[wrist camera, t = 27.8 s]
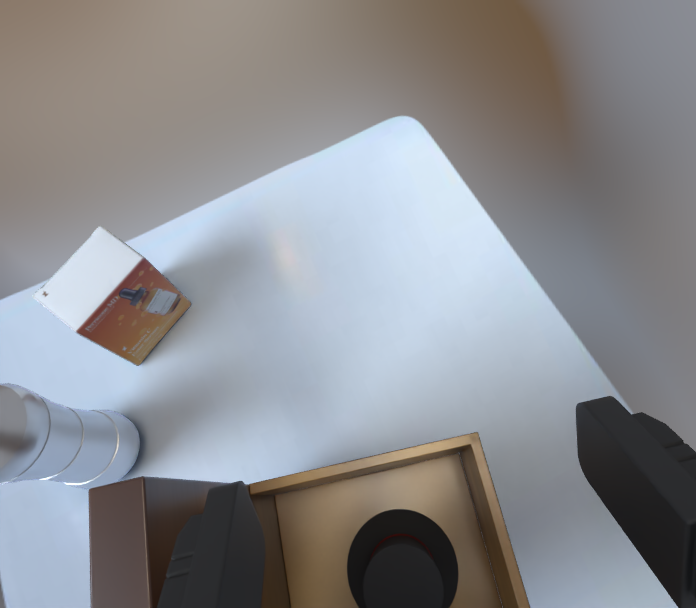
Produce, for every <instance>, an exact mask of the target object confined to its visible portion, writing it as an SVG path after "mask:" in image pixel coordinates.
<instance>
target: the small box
mask: <svg viewBox="0 0 696 608" xmlns="http://www.w3.org/2000/svg"><path fill="white" fill-rule="evenodd" d="M32 297H33V298H34V299H35V300H36V301H37V302H39V303H40V304H41V305H42V306H44V307H45V308H46V309H47V310H49V311H50V312H51V313H52V314H53V315H55V316H56V317H57V318H58V319H60V320H61V321H62V322H63V323H64V324H66V325H67V326H68V327H69V328H71V329H72V330H73V331H74V332H75V333H77V334H79V335H80V336H82V337H84V338H86V339H88V340H90V341H91V342H93V343H95V344H97V345H99V346H101V347H103V348H105V349H106V350H108V351H110V352H112V353H114V354H116V355H118V356H119V357H121V358H123V359H125V360H127V361H129V362H131V363H132V364H134V365H136V366H139V365H140V364H141V363H142V361H143V360H144V359H145V358H146V356H147V355H148V354H149V353H150V351H151V350H152V349H153V348H154V347H155V346H156V344H157V343H158V342H159V341H160V340H161V339H162V338H163V336H164V335H165V334H166V333H167V332H168V331H169V329H170V328H171V327H172V326H173V325H174V324H175V323H176V322H177V320H178V319H179V318H180V317H181V316H182V315H183V313H184V312H185V311H186V310H187V309H188V308H189V307H190V306H191V302H190V301H189V300H188V299H187V298H186V297H185V296H184V295H183V294H182V293H181V292H180V291H179V290H178V289H177V288H176V287H175V286H174V285H173V284H172V283H171V282H170V281H169V280H168V279H167V278H166V277H164V276H163V275H162V274H161V273H160V272H159V271H158V270H157V269H156V268H155V267H154V266H153V265H152V264H151V263H150V262H149V261H148V260H147V259H146V258H144V257H143V256H142V255H140V254H139V253H138V252H136V251H135V250H134V249H132V248H131V247H130V246H128V245H127V244H126V243H124V242H123V241H121V240H120V239H119V238H117V237H116V236H115V235H113V234H112V233H111V232H109V231H108V230H106V229H105V228H104V227H102V226H99V227H98V228H97V229H96V230H95V231H94V232H93V234H92V235H91V236H90V237H89V238H88V240H87V241H86V242H85V243H84V244H83V245H82V246H81V247H80V248H79V249H78V250H77V251H76V252H75V253H74V254H73V255H72V256H71V257H70V259H69V260H68V261H67V262H66V263H65V264H64V265H63V266H62V267H61V268H60V269H59V270H58V271H57V272H56V273H55V274H54V275H53V276H52V277H51V278H50V279H49V280H48V281H47V282H46V283H45V284H44V285H43V286H42V287H41V288H40V289H39V290H38V291H37V292H36V293H35V294H33V296H32Z"/></svg>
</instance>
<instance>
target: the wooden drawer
mask: <svg viewBox="0 0 696 608" xmlns="http://www.w3.org/2000/svg"><path fill="white" fill-rule="evenodd" d="M456 453H457V454H456ZM459 454H460V455H459ZM443 456H444V457H443ZM460 457H461V458H460ZM434 458H435V459H434ZM430 459H431V460H430ZM421 461H422V462H421ZM461 461H462V462H461ZM408 464H409V465H408ZM462 464H463V465H462ZM399 466H400V467H399ZM463 468H464V469H463ZM386 469H387V470H386ZM377 471H378V472H377ZM464 471H465V472H464ZM373 472H374V473H373ZM364 474H365V475H364ZM465 475H466V476H465ZM351 477H352V478H351ZM466 478H467V479H466ZM342 479H343V480H342ZM329 482H330V483H329ZM467 482H468V483H467ZM225 484H229V483H222V482H209V481H196V480H183V479H171V478H158V477H145V476H142V477H137V478H133V479H129V480H124V481H120V482H116V483H111V484H107V485H102V486H98V487H94V488H91V489H89V536H90V588H91V608H157V605H158V602H159V598H160V595H161V591H162V588H163V584H164V581H165V579H166V578H167V576H166V573H167V570H168V566H169V563H170V561H171V560H172V559H171V556H172V552H173V549H174V545H175V542H176V538H177V535H178V534H179V533H180V531H181V530H182V528H183V527H184V525H185V524H186V522H187V521H188V519H189V518H190V516H192V515H197V514H201V513H203V511H204V507H205V503H206V498H207V494H208V491H209V489H210V488H212V487H216V486H221V485H225ZM320 484H321V485H320ZM316 485H317V486H316ZM468 485H469V486H468ZM245 486H246V488H247V490H248V493H249V495H250V498H251V500H252V503H253V505H254V508H255V510H256V513H257V515H258V518H259V520H260V523H261V525H262V528H263V532H264V537H265V546H266V556H265V568H264V580H263V592H262V605H261V608H359V607H358V605H357V604H356V602H355V600H354V598H353V596H352V593H351V590H350V587H349V583H348V577H347V560H348V554H349V549H350V547H351V544H352V541H353V539H354V537H355V535H356V534H357V532H358V531H359V530H360V528H361V527H362V526H363V525H364V524H365V523H366V522H367V521H368V520H370V519H371V518H372V517H374V516H375V515H377V514H379V513H382V512H384V511H388V510H393V509H407V510H412V511H416V512H418V513H421V514H423V515H425V516H427V517H428V518H430V519H431V520H432V521H434V522H435V523H436V524H437V525H438V526H439V527H440V528H441V529H442V530H443V531H444V533H445V534H446V535H447V537H448V539H449V540H450V542H451V544H452V546H453V548H454V551H455V554H456V558H457V563H458V585H457V590H456V594H455V597H454V599H453V602H452V604H451V606H450V607H449V608H530V605H529V602H528V598H527V595H526V592H525V588H524V585H523V582H522V578H521V575H520V572H519V568H518V565H517V562H516V558H515V555H514V552H513V548H512V545H511V542H510V538H509V535H508V532H507V528H506V525H505V522H504V518H503V515H502V512H501V508H500V505H499V502H498V498H497V495H496V492H495V488H494V485H493V482H492V478H491V475H490V472H489V468H488V465H487V462H486V458H485V455H484V452H483V448H482V445H481V442H480V438H479V435H478V432H475V433H471V434H466V435H462V436H457V437H453V438H449V439H444V440H440V441H436V442H431V443H427V444H422V445H418V446H414V447H409V448H405V449H401V450H396V451H392V452H387V453H383V454H379V455H374V456H370V457H366V458H361V459H357V460H352V461H348V462H344V463H339V464H335V465H331V466H326V467H322V468H317V469H313V470H309V471H304V472H300V473H296V474H291V475H287V476H282V477H278V478H274V479H269V480H265V481H261V482H256V483H252V484H249V485H248V484H245ZM307 487H308V488H307ZM469 489H470V490H469ZM470 493H471V494H470ZM471 496H472V497H471ZM472 500H473V501H472ZM473 503H474V504H473ZM474 507H475V508H474ZM475 510H476V511H475ZM476 514H477V515H476ZM477 517H478V518H477ZM478 521H479V522H478ZM479 524H480V525H479ZM480 528H481V529H480ZM481 532H482V533H481ZM482 535H483V536H482ZM483 539H484V540H483ZM484 542H485V543H484ZM485 546H486V547H485ZM486 549H487V550H486ZM487 553H488V554H487ZM488 556H489V557H488ZM489 560H490V561H489ZM490 563H491V565H490ZM491 567H492V568H491ZM492 571H493V572H492ZM493 574H494V575H493ZM494 578H495V579H494ZM495 581H496V582H495ZM496 585H497V586H496ZM497 588H498V589H497ZM498 592H499V593H498ZM499 595H500V596H499ZM500 599H501V600H500ZM501 602H502V604H501ZM502 606H503V607H502Z"/></svg>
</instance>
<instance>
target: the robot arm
mask: <svg viewBox="0 0 696 608" xmlns="http://www.w3.org/2000/svg"><path fill="white" fill-rule="evenodd" d="M576 425H577V446H578V458H579V462H580V465H581V468H582V471H583V473H584V475H585V477H586V479H587V480H588V482H589V483H590V485H591V486H592V488H593V489H594V490H595V492H596V493H597V495H598V496H599V497H600V499H601V500H602V502H603V503H604V504H605V506H606V507H607V508H608V510H609V511H610V513H611V514H612V515H613V517H614V518H615V520H616V521H617V522H618V524H619V525H620V527H621V528H622V529H623V531H624V532H625V534H626V535H627V536H628V538H629V539H630V541H631V542H632V543H633V545H634V546H635V548H636V549H637V550H638V552H639V553H640V555H641V556H642V557H643V559H644V560H645V562H646V563H647V564H648V566H649V567H650V569H651V570H652V571H653V573H654V574H655V576H656V577H657V578H658V580H659V581H660V582H661V584H662V585H663V587H664V588H665V589H666V591H667V592H668V594H669V595H670V596H671V598H672V599H673V601H674V602H675V603H676V605H677V606H678V608H696V452H695V451H694V450H693V449H692V448H691V447H690V446H689V445H688V444H684V442H683V440H682V439H681V438H680V437H679V436H678V435H677V434H676V433H675V432H674V431H672V429H670V428H669V427H668V426H667V425H666V424H665V423H663V422H660V421H658V420H656V419H654V418H652V417H650V416H648V415H646V414H644V413H642V412H641V413H637V414H632V415H631V414H630V413H629V412H628V411H627V410H626V409H625V408H624V407H623V406H622V405H621V404H620V403H619V402H618V401H617V400H616V399H615V398H614V397H612V396H607V397H603V398H599V399H594V400H590V401H586V402H582V403H578V404H577V406H576ZM265 556H266V546H265V537H264V532H263V528H262V525H261V523H260V520H259V518H258V515H257V513H256V510H255V508H254V505H253V503H252V500H251V498H250V495H249V493H248V490H247V488H246V486H245V484H244V483H243V482H242V481H238V482H234V483H229V484H225V485H221V486H216V487H212V488H210V489H209V491H208V494H207V498H206V503H205V507H204V511H203V513H201V514H197V515H192V516H190V518H189V519H188V521H187V522H186V524H185V525H184V527H183V528H182V530H181V531H180V533H179V534H178V535H177V538H176V542H175V545H174V549H173V552H172V556H171V559H172V560H171V561H170V563H169V566H168V570H167V573H166V576H167V578H166V579H165V581H164V584H163V588H162V591H161V595H160V598H159V602H158V605H157V608H261V605H262V592H263V580H264V568H265Z"/></svg>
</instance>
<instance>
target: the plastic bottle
mask: <svg viewBox="0 0 696 608" xmlns="http://www.w3.org/2000/svg"><path fill="white" fill-rule="evenodd" d="M139 448H140V438H139V433H138V431H137V429H136V427H135V425H134V424H133V423H132V422H131V421H130V420H129V419H127V418H126V417H124V416H123V415H121V414H119V413H117V412H115V411H110V410H88V411H87V410H79V409H71V408H68V407H65V406H63V405H60V404H57V403H54V402H51V401H50V400H48V399H46V398H44V397H42V396H40V395H38V394H36V393H34V392H33V391H30V390H28V389H26V388H23V387H21V386H18V385H14V384H0V484H5V483H11V482H17V481H23V480H52V481H58V482H64V483H66V484H68V485H70V486H74V487H78V488H82V489H91V488H94V487H98V486H102V485H107V484H111V483H115V482H117V481H118V480H120V479H121V478H123V477H124V476H125V475H126V474H127V473H128V472H129V470H130V469H131V468H132V467H133V465H134V463H135V461H136V459H137V456H138V453H139Z"/></svg>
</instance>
